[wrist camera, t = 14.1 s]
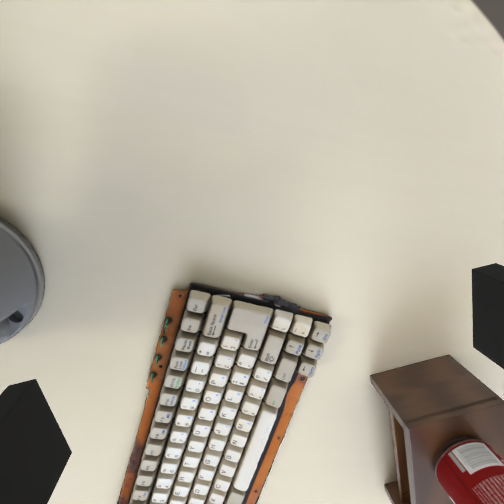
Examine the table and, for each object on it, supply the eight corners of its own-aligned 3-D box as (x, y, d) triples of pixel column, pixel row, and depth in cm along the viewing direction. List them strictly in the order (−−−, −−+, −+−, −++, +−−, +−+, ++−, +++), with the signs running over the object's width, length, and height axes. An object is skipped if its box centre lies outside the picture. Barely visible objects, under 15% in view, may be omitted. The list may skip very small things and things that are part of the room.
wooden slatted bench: (385, 490, 49) (421, 560, 41) (369, 375, 43) (408, 429, 35) (454, 471, 50) (504, 536, 41) (448, 354, 44) (506, 402, 35)
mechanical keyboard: (244, 534, 49) (246, 561, 45) (112, 520, 45) (104, 548, 42) (331, 307, 40) (342, 320, 37) (176, 269, 37) (172, 280, 33)
